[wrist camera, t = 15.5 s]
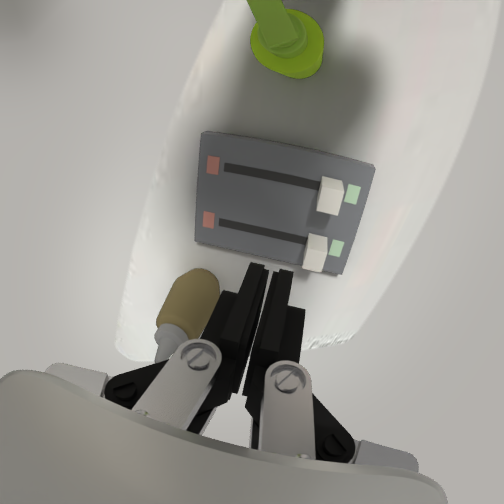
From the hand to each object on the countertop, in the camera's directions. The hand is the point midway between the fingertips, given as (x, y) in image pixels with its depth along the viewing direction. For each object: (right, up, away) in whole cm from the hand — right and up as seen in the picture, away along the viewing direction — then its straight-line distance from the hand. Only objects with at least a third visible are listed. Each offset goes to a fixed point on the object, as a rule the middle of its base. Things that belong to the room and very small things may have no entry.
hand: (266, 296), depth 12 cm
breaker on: (+9, +9, +24) cm, 27 cm away
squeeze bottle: (-9, -3, +39) cm, 40 cm away
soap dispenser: (+5, +26, +18) cm, 32 cm away
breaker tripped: (+8, +3, +28) cm, 30 cm away
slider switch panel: (+3, +9, +29) cm, 30 cm away
